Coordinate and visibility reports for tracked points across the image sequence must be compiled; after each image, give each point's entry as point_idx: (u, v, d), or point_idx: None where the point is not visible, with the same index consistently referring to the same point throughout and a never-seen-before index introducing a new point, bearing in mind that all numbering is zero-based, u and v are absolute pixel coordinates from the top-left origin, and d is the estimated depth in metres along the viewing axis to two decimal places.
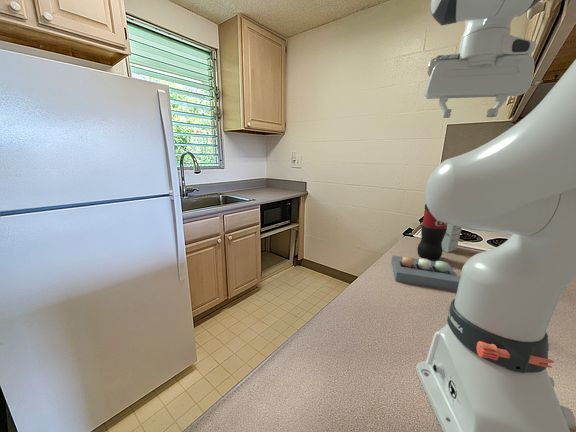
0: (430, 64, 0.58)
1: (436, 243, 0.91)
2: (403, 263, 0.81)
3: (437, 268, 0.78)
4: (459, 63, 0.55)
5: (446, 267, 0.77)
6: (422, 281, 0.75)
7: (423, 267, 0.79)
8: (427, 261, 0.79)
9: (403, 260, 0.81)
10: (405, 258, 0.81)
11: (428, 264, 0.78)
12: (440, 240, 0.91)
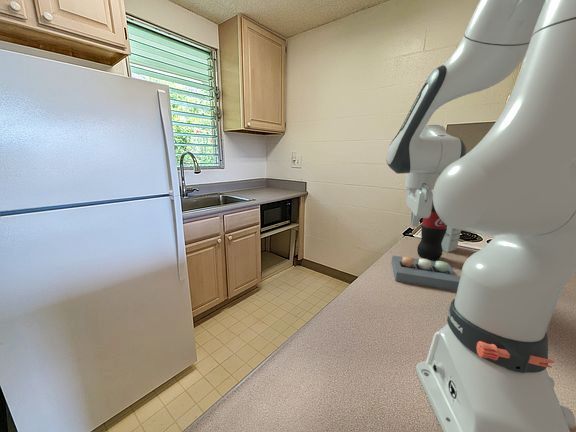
0: (429, 192, 0.66)
1: (436, 243, 0.91)
2: (403, 263, 0.81)
3: (437, 268, 0.78)
4: None
5: (446, 267, 0.77)
6: (422, 281, 0.75)
7: (423, 267, 0.79)
8: (427, 261, 0.79)
9: (403, 260, 0.81)
10: (405, 258, 0.81)
11: (428, 264, 0.78)
12: (440, 240, 0.91)
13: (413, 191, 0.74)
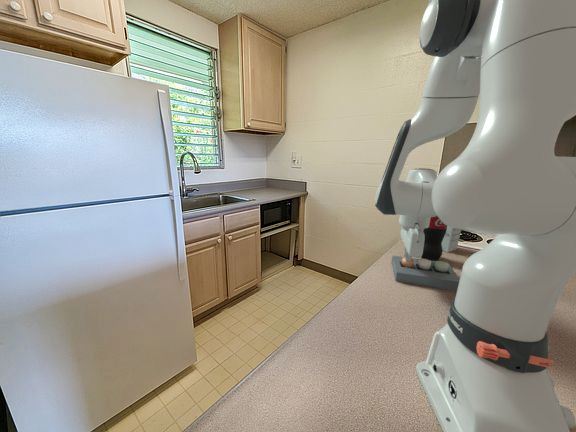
0: (420, 235, 0.69)
1: (436, 243, 0.91)
2: (403, 264, 0.81)
3: (437, 268, 0.78)
4: None
5: (446, 267, 0.77)
6: (422, 281, 0.75)
7: (423, 267, 0.79)
8: (427, 261, 0.79)
9: (403, 261, 0.81)
10: None
11: (428, 264, 0.78)
12: (440, 240, 0.91)
13: (406, 229, 0.77)
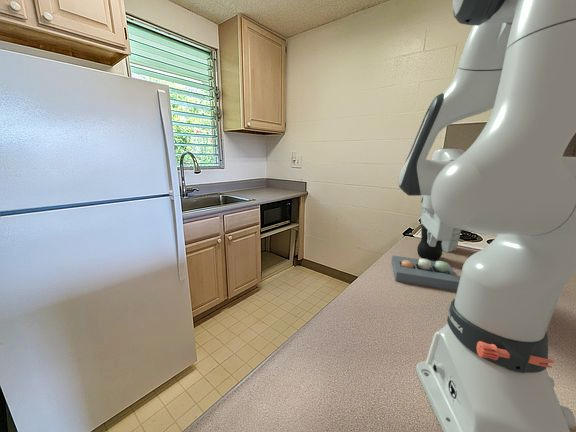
0: None
1: (436, 243, 0.91)
2: None
3: (437, 268, 0.78)
4: None
5: (446, 267, 0.77)
6: (422, 281, 0.75)
7: (423, 267, 0.79)
8: (427, 261, 0.79)
9: (402, 264, 0.81)
10: (404, 262, 0.81)
11: (428, 264, 0.78)
12: None
13: (431, 212, 0.74)
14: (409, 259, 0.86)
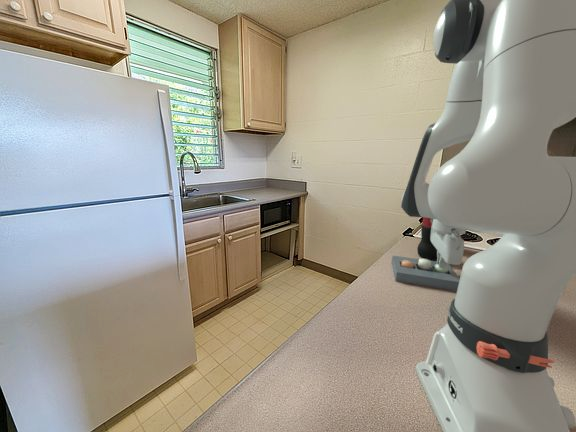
0: (460, 241, 0.66)
1: None
2: None
3: (436, 271, 0.78)
4: None
5: (445, 270, 0.77)
6: (422, 281, 0.75)
7: (423, 267, 0.79)
8: (427, 261, 0.79)
9: (402, 264, 0.81)
10: (404, 262, 0.81)
11: (428, 264, 0.78)
12: None
13: (441, 234, 0.75)
14: (409, 259, 0.86)
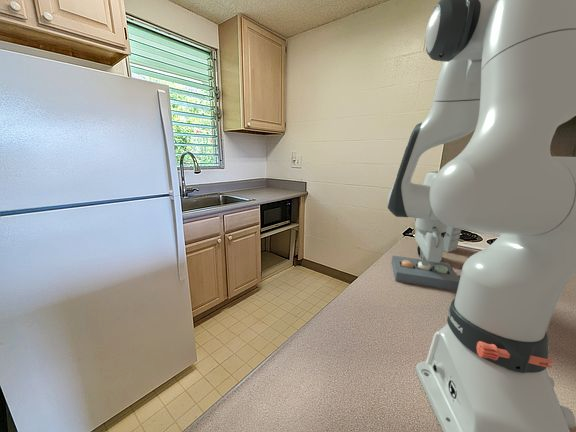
0: (440, 239, 0.68)
1: None
2: None
3: None
4: None
5: (445, 271, 0.77)
6: (422, 281, 0.75)
7: None
8: None
9: (402, 264, 0.81)
10: (404, 262, 0.81)
11: (427, 267, 0.79)
12: None
13: (423, 233, 0.76)
14: (409, 259, 0.86)
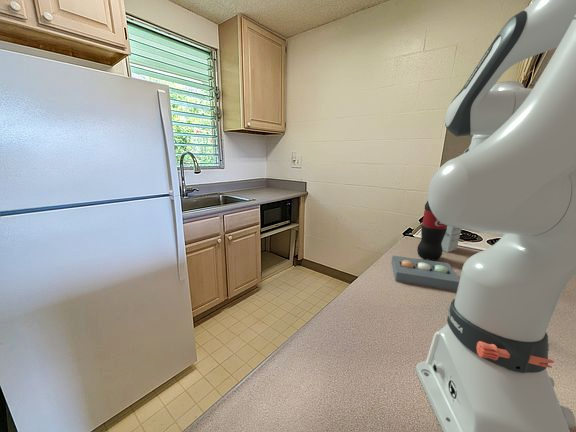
0: None
1: (436, 243, 0.91)
2: None
3: None
4: None
5: (445, 271, 0.77)
6: (422, 281, 0.75)
7: None
8: (426, 265, 0.80)
9: (402, 264, 0.81)
10: (404, 262, 0.81)
11: (427, 268, 0.79)
12: (440, 240, 0.91)
13: None
14: (409, 259, 0.86)
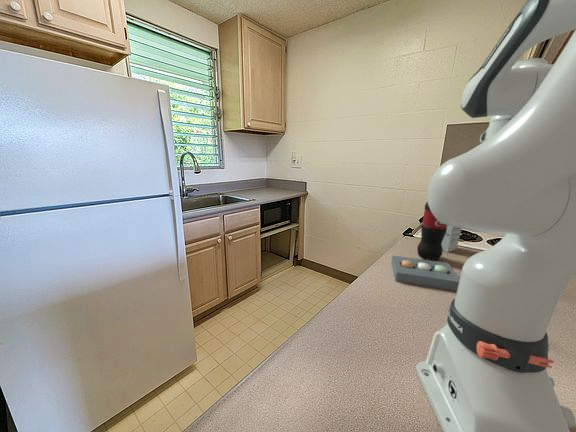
0: None
1: (436, 243, 0.91)
2: None
3: None
4: None
5: (445, 271, 0.77)
6: (422, 281, 0.75)
7: None
8: (426, 265, 0.80)
9: (402, 264, 0.81)
10: (404, 262, 0.81)
11: (427, 268, 0.79)
12: (440, 240, 0.91)
13: None
14: (409, 259, 0.86)
